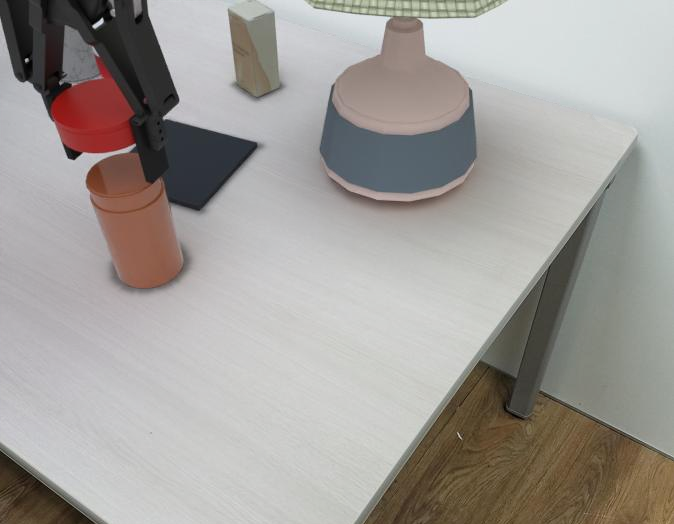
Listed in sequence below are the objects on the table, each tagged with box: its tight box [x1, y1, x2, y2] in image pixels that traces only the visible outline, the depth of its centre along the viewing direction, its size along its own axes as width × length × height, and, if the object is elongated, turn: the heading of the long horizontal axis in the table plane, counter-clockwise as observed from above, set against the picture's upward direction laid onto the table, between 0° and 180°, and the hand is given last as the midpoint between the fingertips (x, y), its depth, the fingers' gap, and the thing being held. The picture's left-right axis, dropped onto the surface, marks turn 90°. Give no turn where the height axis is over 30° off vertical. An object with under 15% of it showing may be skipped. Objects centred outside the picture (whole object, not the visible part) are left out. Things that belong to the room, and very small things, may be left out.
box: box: [226, 0, 281, 98], centre depth 95 cm, size 5×4×11 cm
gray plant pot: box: [61, 25, 100, 82], centre depth 100 cm, size 10×10×12 cm
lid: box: [51, 77, 146, 155], centre depth 62 cm, size 8×8×2 cm
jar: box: [84, 152, 185, 289], centre depth 71 cm, size 7×7×12 cm
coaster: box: [128, 118, 258, 211], centre depth 88 cm, size 14×14×1 cm
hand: (118, 162), depth 66 cm, fingers closed on lid, 8 cm apart
